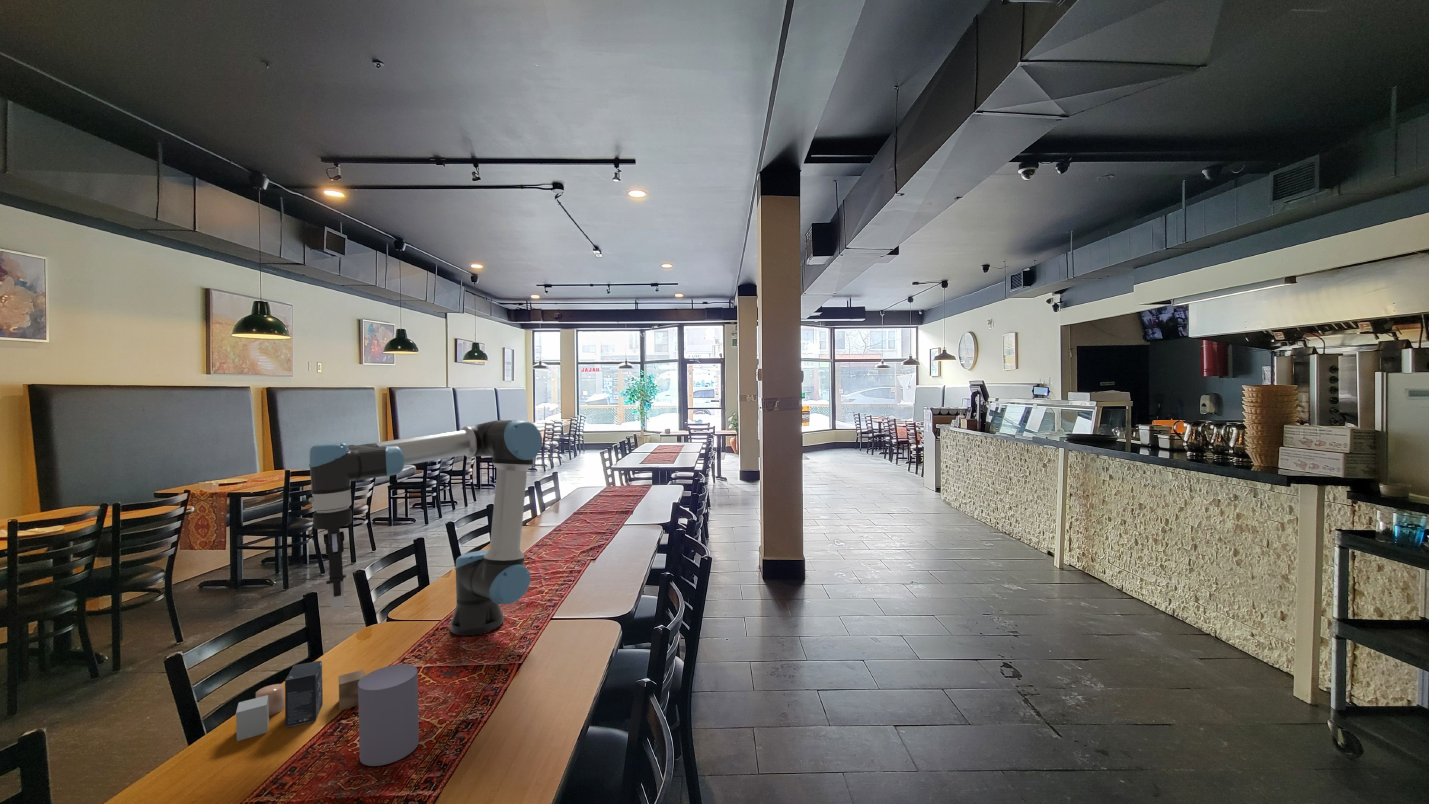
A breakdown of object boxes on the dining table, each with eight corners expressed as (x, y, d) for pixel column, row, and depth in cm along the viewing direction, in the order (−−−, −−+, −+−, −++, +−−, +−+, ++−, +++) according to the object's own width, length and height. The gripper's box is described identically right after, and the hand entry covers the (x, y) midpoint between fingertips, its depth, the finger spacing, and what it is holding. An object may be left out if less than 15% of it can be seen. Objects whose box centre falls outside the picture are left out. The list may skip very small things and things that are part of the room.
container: (404, 765, 106) (402, 688, 106) (348, 769, 106) (346, 691, 105) (427, 733, 117) (426, 662, 117) (376, 736, 116) (375, 665, 116)
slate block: (268, 721, 122) (268, 694, 122) (267, 732, 118) (266, 704, 118) (239, 730, 119) (238, 702, 119) (236, 741, 115) (236, 712, 115)
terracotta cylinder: (288, 704, 129) (288, 682, 129) (276, 716, 124) (275, 693, 124) (264, 706, 128) (264, 685, 128) (251, 718, 124) (250, 696, 124)
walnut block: (364, 694, 133) (363, 669, 133) (365, 703, 129) (364, 677, 129) (339, 701, 130) (338, 675, 130) (339, 710, 126) (339, 684, 126)
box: (316, 721, 122) (315, 673, 122) (284, 728, 119) (283, 680, 119) (323, 704, 129) (322, 659, 129) (293, 710, 127) (292, 664, 126)
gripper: (312, 507, 133) (318, 604, 133) (312, 516, 122) (318, 621, 123) (349, 502, 137) (355, 596, 138) (352, 511, 126) (358, 612, 127)
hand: (338, 608), depth 130 cm, fingers closed
